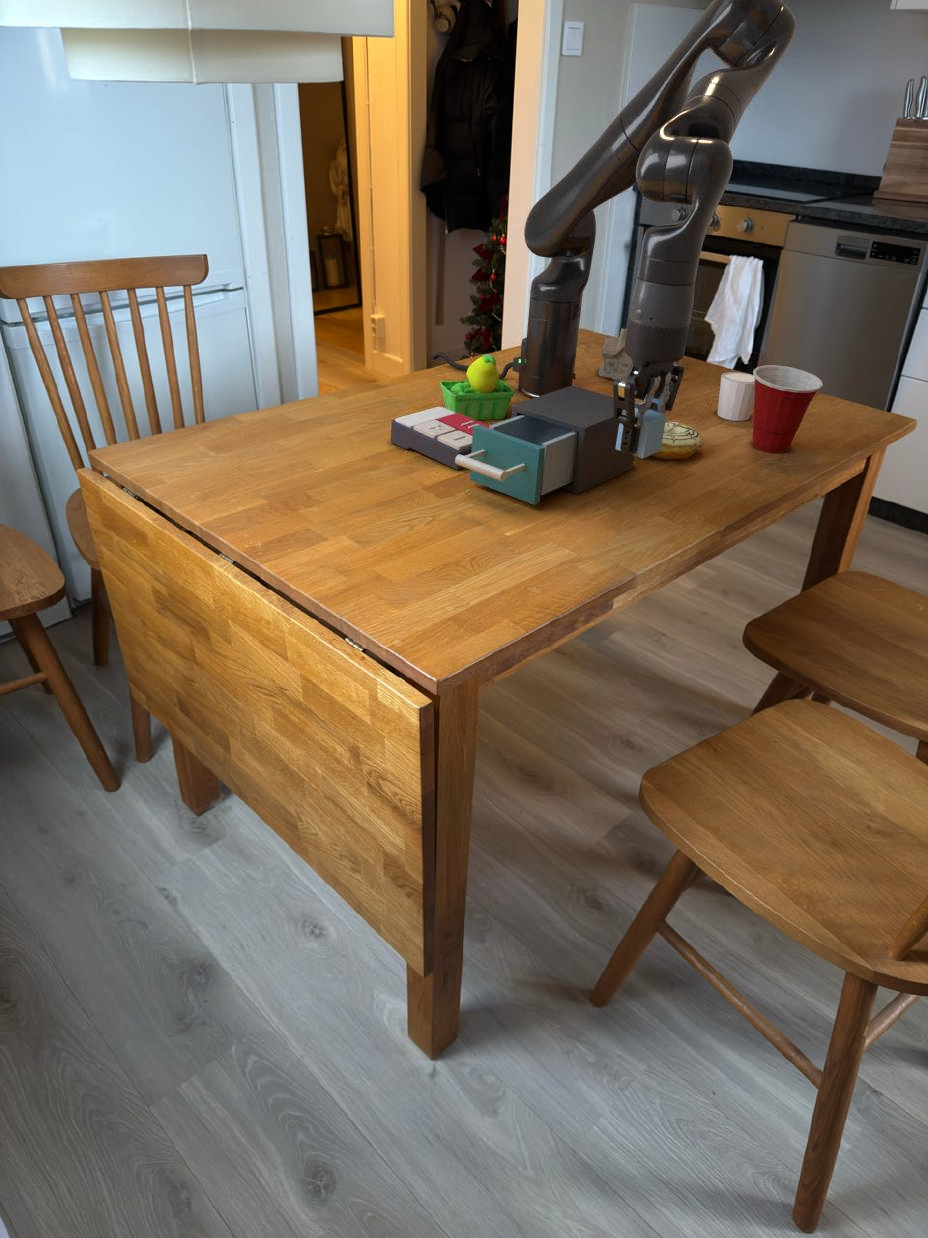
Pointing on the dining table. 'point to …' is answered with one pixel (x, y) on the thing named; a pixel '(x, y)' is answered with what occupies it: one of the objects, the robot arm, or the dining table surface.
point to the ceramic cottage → (616, 357)
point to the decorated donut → (679, 441)
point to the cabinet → (583, 432)
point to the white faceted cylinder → (736, 396)
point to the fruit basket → (479, 392)
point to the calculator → (436, 434)
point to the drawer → (522, 457)
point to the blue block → (647, 434)
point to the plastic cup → (780, 405)
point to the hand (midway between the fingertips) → (638, 447)
